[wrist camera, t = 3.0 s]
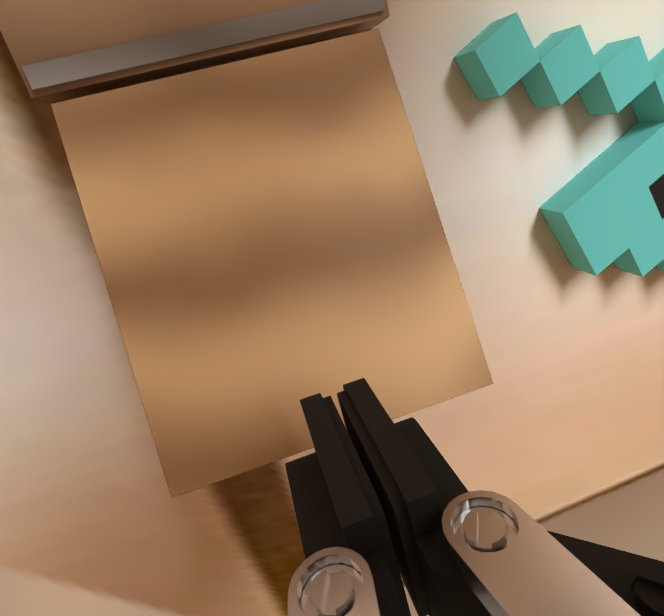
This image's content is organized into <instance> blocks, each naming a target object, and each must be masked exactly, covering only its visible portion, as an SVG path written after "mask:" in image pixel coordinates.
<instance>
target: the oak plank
mask: <svg viewBox="0 0 664 616" xmlns="http://www.w3.org/2000/svg"><path fill="white" fill-rule="evenodd" d="M51 106H52V110H53V113H54V116H55V119H56V123H57V126H58V129H59V132H60V136H61V139H62V142H63V145H64V149H65V152H66V155H67V159H68V162H69V165H70V168H71V172H72V175H73V178H74V181H75V185H76V188H77V191H78V194H79V198H80V201H81V204H82V207H83V211H84V214H85V217H86V220H87V224H88V227H89V230H90V233H91V237H92V240H93V243H94V246H95V250H96V253H97V256H98V259H99V263H100V266H101V269H102V272H103V276H104V279H105V282H106V285H107V289H108V292H109V295H110V298H111V302H112V305H113V308H114V311H115V315H116V318H117V321H118V324H119V328H120V331H121V334H122V337H123V341H124V344H125V347H126V350H127V354H128V357H129V360H130V363H131V367H132V370H133V373H134V376H135V380H136V383H137V386H138V389H139V393H140V396H141V399H142V402H143V406H144V409H145V412H146V415H147V419H148V422H149V425H150V428H151V432H152V435H153V438H154V441H155V445H156V448H157V451H158V454H159V458H160V461H161V464H162V468H163V471H164V474H165V477H166V481H167V484H168V487H169V490H170V494H171V497H172V498H174V497H176V496H179V495H182V494H185V493H188V492H190V491H193V490H196V489H199V488H202V487H204V486H207V485H210V484H213V483H216V482H219V481H221V480H224V479H227V478H230V477H233V476H235V475H238V474H241V473H244V472H247V471H249V470H252V469H255V468H258V467H261V466H263V465H266V464H269V463H272V462H275V461H277V460H280V459H283V458H286V457H289V456H291V455H294V454H297V453H300V452H303V451H306V450H308V449H311V448H314V445H313V442H312V438H311V435H310V432H309V429H308V426H307V423H306V419H305V416H304V413H303V410H302V407H301V403H300V399H303V398H306V397H309V396H312V395H315V394H318V393H321V395H322V397H323V398H324V397H327V396H331V397H332V400H333V402H334V404H335V406H336V408H337V410H338V413H339V415H340V417H341V419H342V421H343V423H344V419H343V416H342V412H341V408H340V405H339V401H338V397H337V393H339V392H342V391H344V389H343V385H344V384H347V383H350V382H353V381H355V380H358V379H361V378H365V380H366V381H367V383H368V384H369V386H370V387H371V389H372V390H373V392H374V394H375V395H376V397H377V398H378V400H379V401H380V403H381V404H382V406H383V407H384V409H385V411H386V412H387V414H388V415H389V417H390V418H391V420H392V419H395V418H398V417H401V416H404V415H407V414H409V413H412V412H415V411H418V410H421V409H423V408H426V407H429V406H432V405H435V404H437V403H440V402H443V401H446V400H449V399H451V398H454V397H457V396H460V395H463V394H465V393H468V392H471V391H474V390H477V389H479V388H482V387H485V386H488V385H491V384H493V381H492V378H491V375H490V372H489V369H488V366H487V363H486V360H485V356H484V353H483V350H482V347H481V344H480V341H479V338H478V335H477V332H476V329H475V326H474V323H473V319H472V316H471V313H470V310H469V307H468V304H467V301H466V298H465V295H464V292H463V289H462V285H461V282H460V279H459V276H458V273H457V270H456V267H455V264H454V261H453V258H452V255H451V252H450V248H449V245H448V242H447V239H446V236H445V233H444V230H443V227H442V224H441V221H440V218H439V215H438V211H437V208H436V205H435V202H434V199H433V196H432V193H431V190H430V187H429V184H428V181H427V178H426V174H425V171H424V168H423V165H422V162H421V159H420V156H419V153H418V150H417V147H416V144H415V141H414V137H413V134H412V131H411V128H410V125H409V122H408V119H407V116H406V113H405V110H404V107H403V103H402V100H401V97H400V94H399V91H398V88H397V85H396V82H395V79H394V76H393V73H392V70H391V66H390V63H389V60H388V57H387V54H386V51H385V48H384V45H383V42H382V39H381V36H380V33H379V29H374V30H369V31H365V32H361V33H356V34H352V35H348V36H343V37H339V38H335V39H330V40H326V41H322V42H317V43H313V44H309V45H304V46H300V47H296V48H291V49H287V50H283V51H278V52H274V53H270V54H265V55H261V56H257V57H252V58H248V59H244V60H239V61H235V62H231V63H226V64H222V65H218V66H213V67H209V68H205V69H201V70H196V71H192V72H188V73H183V74H179V75H175V76H170V77H166V78H162V79H157V80H153V81H149V82H144V83H140V84H136V85H131V86H127V87H123V88H118V89H114V90H110V91H105V92H101V93H97V94H92V95H88V96H84V97H79V98H75V99H71V100H66V101H62V102H58V103H53V104H51ZM344 426H345V423H344ZM345 428H346V427H345Z"/></svg>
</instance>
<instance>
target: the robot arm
mask: <svg viewBox="0 0 664 616" xmlns="http://www.w3.org/2000/svg"><path fill="white" fill-rule="evenodd" d="M343 389H344V391H342V392H339V393H337V397H338V401H339V405H340V408H341V412H342V416H343V419H344V423H345V426H344V423H343V421H342V419H341V417H340V415H339V413H338V410H337V408H336V406H335V404H334V402H333V400H332V397H331V396H327V397H324V398H323V397H322V395H321V393H318V394H315V395H312V396H309V397H306V398H303V399H300V403H301V407H302V410H303V413H304V416H305V419H306V423H307V426H308V429H309V432H310V435H311V438H312V442H313V445H314V448H315V451H316V452H315V453H313V454H310V455H307V456H304V457H302V458H299V459H296V460H293V461H291V462H288V463H285V465H286V471H287V475H288V480H289V484H290V489H291V494H292V498H293V503H294V507H295V512H296V517H297V521H298V526H299V530H300V535H301V540H302V544H303V549H304V553H305V558H306V559H305V560H304V561H303V562H302V564H301V565H300V566H299V567H298V568H297V570H296V571H295V573H294V575H293V577H292V580H291V582H290V585H289V592H288V616H411V614H410V610H409V606H408V603H407V598H406V595H405V591H404V587H403V583H402V579H403V581H404V583H405V586H406V588H407V590H408V592H409V595H410V597H411V600H412V602H413V604H414V606H415V609H416V611H417V613H418V615H419V616H426V615H429V616H664V562H662V561H658V560H655V559H651V558H647V557H643V556H640V555H636V554H632V553H628V552H625V551H621V550H617V549H614V548H610V547H606V546H602V545H598V544H595V543H591V542H588V541H584V540H580V539H576V538H573V537H569V536H565V535H561V534H558V533H554V532H550V531H546V530H545V529H544V528H543V527H542V526H540V525H539V524H538V523H537V522H536V521H535V520H534V519H533V518H532V517H531V516H529V515H528V514H527V513H526V512H525V511H524V510H523V509H522V508H521V507H519V506H518V505H517V504H516V503H515V502H513V501H512V500H510V499H509V498H507V497H506V496H503V495H501V494H498V493H495V492H491V491H483V490H479V491H470V492H468V490H467V489H466V488H465V486H464V485H463V484H462V482H461V481H460V479H459V478H458V477H457V475H456V474H455V473H454V471H453V470H452V469H451V467H450V466H449V464H448V463H447V462H446V460H445V459H444V458H443V456H442V455H441V454H440V452H439V451H438V450H437V448H436V447H435V445H434V444H433V443H432V441H431V440H430V439H429V437H428V436H427V435H426V433H425V432H424V431H423V429H422V428H421V426H420V425H419V424H418V422H417V421H416V420H415V419H414V418H412V417H411V418H409V419H406V420H403V421H400V422H398V423H395V424H394V423H393V421H392V420H391V418H390V417H389V415H388V414H387V412H386V411H385V409H384V407H383V406H382V404H381V403H380V401H379V400H378V398H377V397H376V395H375V394H374V392H373V390H372V389H371V387H370V386H369V384H368V383H367V381H366V380H365V378H361V379H358V380H355V381H353V382H350V383H347V384H344V385H343ZM345 427H346V428H345ZM400 574H401V575H400ZM401 577H402V579H401Z"/></svg>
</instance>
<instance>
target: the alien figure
mask: <svg viewBox="0 0 664 616" xmlns="http://www.w3.org/2000/svg"><path fill="white" fill-rule="evenodd" d="M454 59H455V61H456V62H457V64H458V66H459V68H460V70H461V71H462V73H463V75H464V77H465V78H466V80H467V82H468V84H469V85H470V87H471V89H472V91H473V93H474V94H475V96H476V98H477V100H483V99H490V98H497V97H501V96H502V95H503V94H504V93H505V92H506V91H507V90H509V89H510V88H511V87H512V86H513V85H514V84H515V83H516V82H517V81H518V80H520V79H521V81H522V83H523V85H524V87H525V89H526V91H527V93H528V95H529V97H530V99H531V101H532V102H533V104H534V106H535V108H539V107H549V106H560V105H562V104H563V103H564V102H566V101H567V100H568V99H569V98H570V97H571V96H572V95H573V94H575V93H576V92H577V91H578V93H579V95H580V97H581V99H582V102H583V104H584V106H585V108H586V110H587V113H588V115H595V114H611V113H618V112H619V111H621V110H622V109H623V108H624V107H625V106H626V105H627V104H628V103H630V102H631V105H632V107H633V110H634V112H635V115H636V117H637V120H638V122H637V123H636V124H635V125H634V126H632V127H631V128H630V129H629V130H628V131H627V132H625V133H624V134H623V135H622V136H621V137H620V138H619V139H617V140H616V141H615V142H614V143H613V144H612V145H611V146H609V147H608V148H607V149H606V150H605V151H604V152H603V153H601V154H600V155H599V156H598V157H597V158H596V159H595V160H593V161H592V162H591V163H590V164H589V165H588V166H587V167H585V168H584V169H583V170H582V171H581V172H580V173H579V174H577V175H576V176H575V177H574V178H573V179H572V180H571V181H569V182H568V183H567V184H566V185H565V186H564V187H562V188H561V189H560V190H559V191H558V192H557V193H556V194H554V195H553V196H552V197H551V198H550V199H549V200H548V201H546V202H545V203H544V204H543V205H542V206H541V207H540V208H539V209H540V211H541V213H542V214H543V216H544V218H545V220H546V221H547V223H548V225H549V227H550V229H551V230H552V232H553V234H554V236H555V237H556V239H557V241H558V243H559V244H560V246H561V248H562V250H563V252H564V253H565V255H566V257H567V259H568V260H569V262H570V264H571V266H572V267H574V268H577V269H579V270H582V271H585V272H588V273H590V274H593V275H596V276H597V275H598V274H599V273H600V272H601V271H603V270H604V269H605V268H606V267H607V266H608V265H610V264H611V263H612V262H614V264H615V266H616V268H618V269H621V270H624V271H627V272H630V273H633V274H636V275H639V276H642V277H643V276H644V275H646V274H647V273H648V272H649V271H650V270H651V269H653V268H654V267H655V266H656V265H657V268H658V269H659V270H663V271H664V49H663V50H662V51H660V52H659V53H658V54H657V55H656V56H655V57H654V58H652V59H651V60H650V61H649V62H648V59H647V56H646V54H645V51H644V48H643V45H642V43H641V40H640V37H639V36H637V37H633V38H629V39H625V40H621V41H616V42H612V43H608V44H606V45H605V46H604V47H603V48H602V49H601V50H600V51H598V52H597V53H596V54H595V55H594V56H593V53H592V51H591V49H590V46H589V44H588V41H587V39H586V37H585V34H584V32H583V29H582V27H581V25H578V26H575V27H571V28H568V29H565V30H562V31H558V32H555V33H552V34H551V35H550V36H549V37H547V38H546V39H545V40H544V41H543V42H542V43H541V44H540V45H539V46H537V47H536V48H535V49H534V47H533V45H532V43H531V41H530V39H529V37H528V35H527V33H526V31H525V29H524V27H523V24H522V22H521V20H520V18H519V16H518V14H517V12H516V13H514V14H511V15H509V16H507V17H504V18H502V19H499V20H497V21H495V22H492V23H491V24H490V25H489V26H488V27H487V28H485V29H484V30H483V31H482V32H481V33H480V34H479V35H478V36H477V37H476V38H475V39H473V40H472V41H471V42H470V43H469V44H468V45H467V46H466V47H465V48H464V49H463V50H461V51H460V52H459V53H458V54H457V55H456V56H455V57H454Z"/></svg>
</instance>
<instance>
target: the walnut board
mask: <svg viewBox="0 0 664 616" xmlns="http://www.w3.org/2000/svg"><path fill="white" fill-rule="evenodd" d="M388 17H389V12H388V6H387V0H0V31H1V33H2V36H3V38H4V40H5V42H6V44H7V46H8V49H9V51H10V53H11V55H12V57H13V59H14V62H15V64H16V66H17V68H18V70H19V72H20V75H21V77H22V79H23V81H24V83H25V86H26V88H27V90H28V92H29V94H30V96H31V98H33V99H38V100H43V101H48V102H56V101H61V100H65V99H69V98H74V97H78V96H82V95H87V94H91V93H95V92H100V91H104V90H108V89H113V88H117V87H121V86H126V85H130V84H134V83H139V82H143V81H147V80H152V79H156V78H160V77H165V76H169V75H173V74H178V73H182V72H186V71H191V70H195V69H199V68H204V67H208V66H212V65H217V64H221V63H225V62H230V61H234V60H238V59H243V58H247V57H251V56H256V55H260V54H264V53H269V52H273V51H277V50H282V49H286V48H290V47H295V46H299V45H303V44H308V43H312V42H317V41H321V40H325V39H330V38H334V37H338V36H343V35H347V34H351V33H356V32H360V31H364V30H369V29H372V28H373V27H375V26H376V25H378V24H379V23H381V22H382V21H383V20H385V19H386V18H388Z"/></svg>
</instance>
